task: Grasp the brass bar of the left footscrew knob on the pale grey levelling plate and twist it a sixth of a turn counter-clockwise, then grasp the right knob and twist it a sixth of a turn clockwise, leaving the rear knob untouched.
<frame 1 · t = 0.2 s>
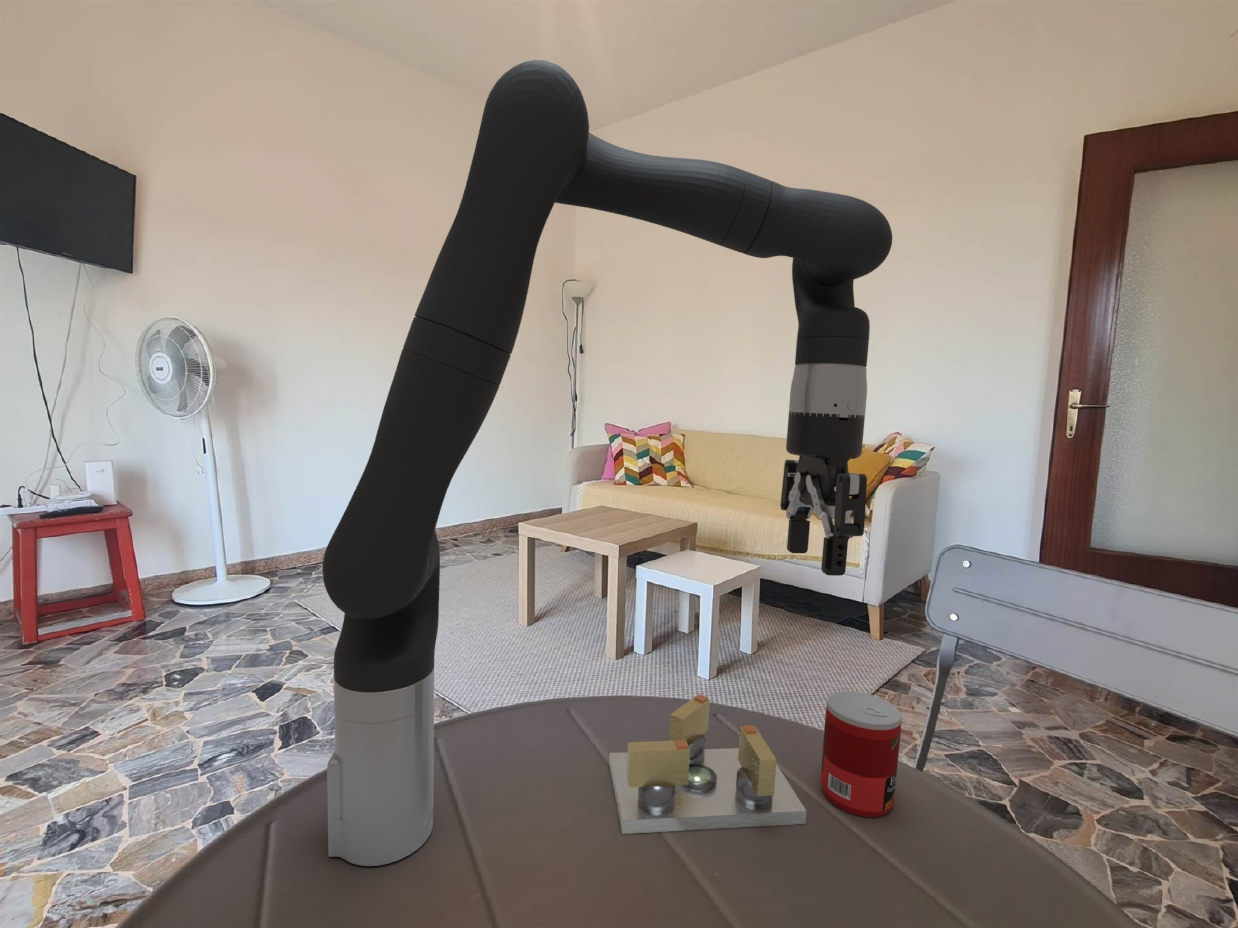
hand: (813, 562, 64), 28 cm above the table, fingers open, 8 cm apart
level plate: (700, 792, 69), on the table
knob c: (689, 731, 73), point 5 cm above the table, hinge at 0.0°
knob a: (657, 773, 65), point 5 cm above the table, hinge at 0.0°
knob b: (755, 769, 66), point 5 cm above the table, hinge at 0.0°
canned food: (855, 797, 70), on the table
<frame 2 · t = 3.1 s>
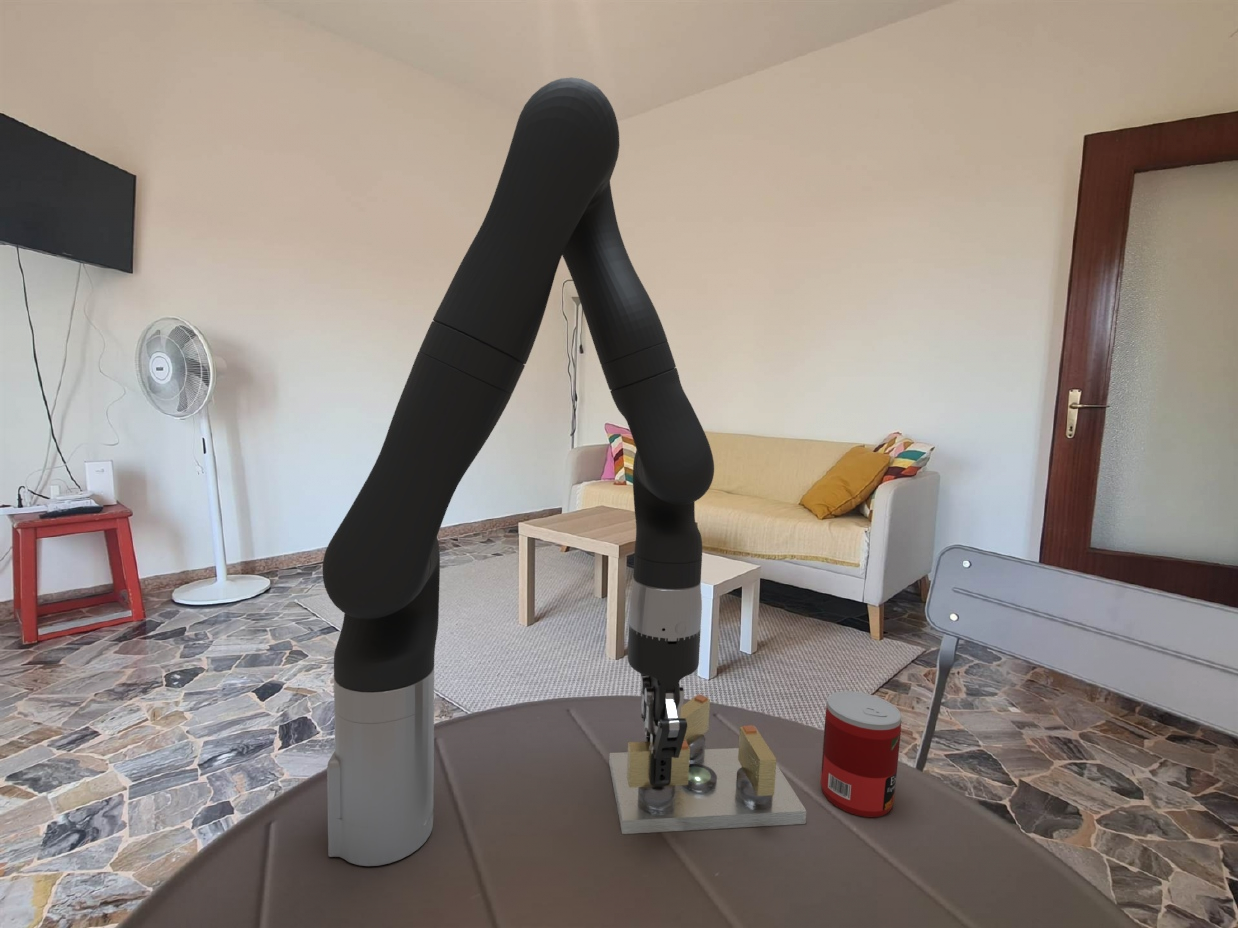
hand: (657, 776, 65), 5 cm above the table, fingers closed on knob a, 2 cm apart
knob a: (657, 773, 65), point 5 cm above the table, hinge at 0.0°, touching gripper
everything else where it was.
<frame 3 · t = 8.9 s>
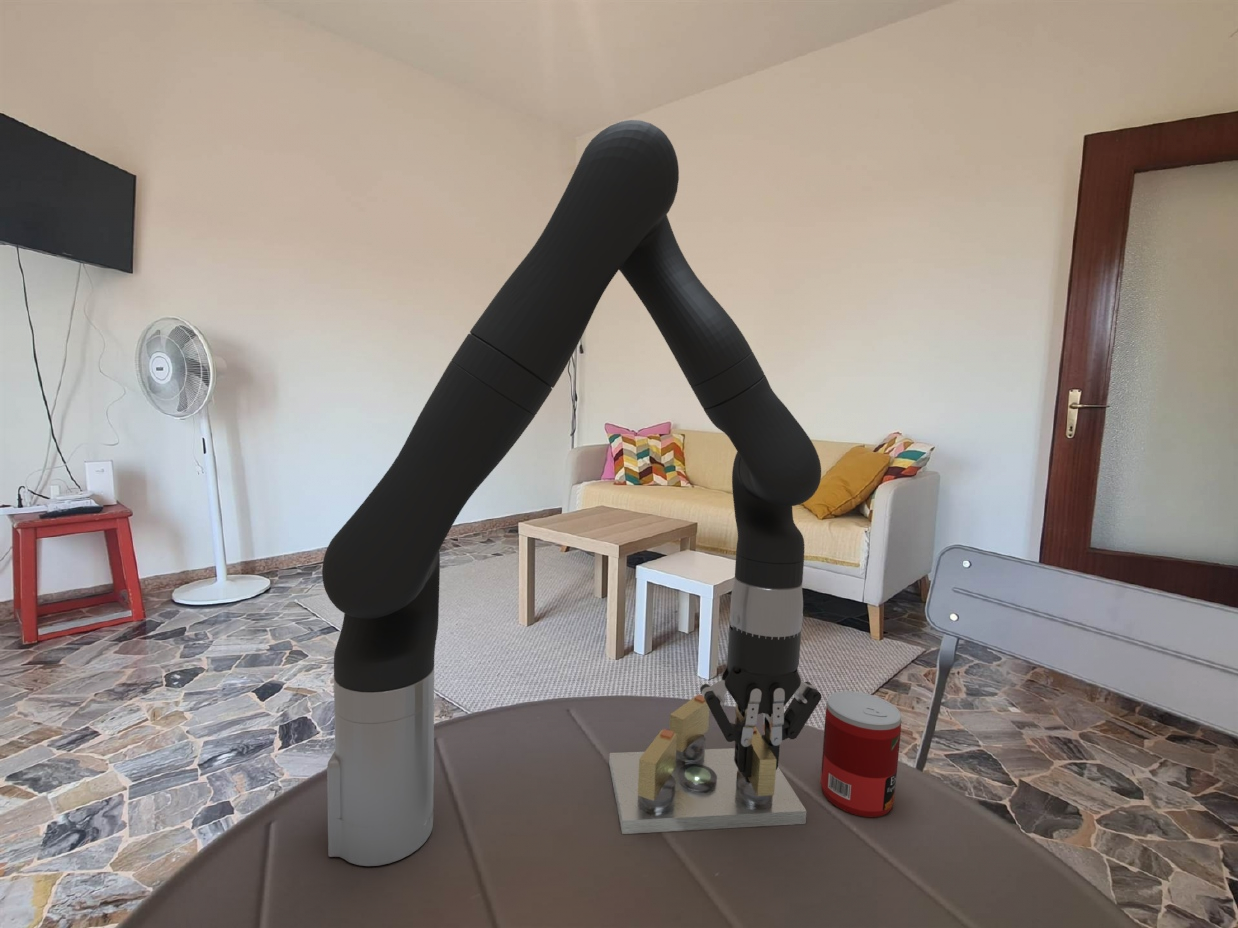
hand: (755, 771, 66), 5 cm above the table, fingers closed on knob b, 2 cm apart
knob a: (657, 773, 65), point 5 cm above the table, hinge at 57.4°
knob b: (755, 769, 66), point 5 cm above the table, hinge at 0.0°, touching gripper
everything else where it was.
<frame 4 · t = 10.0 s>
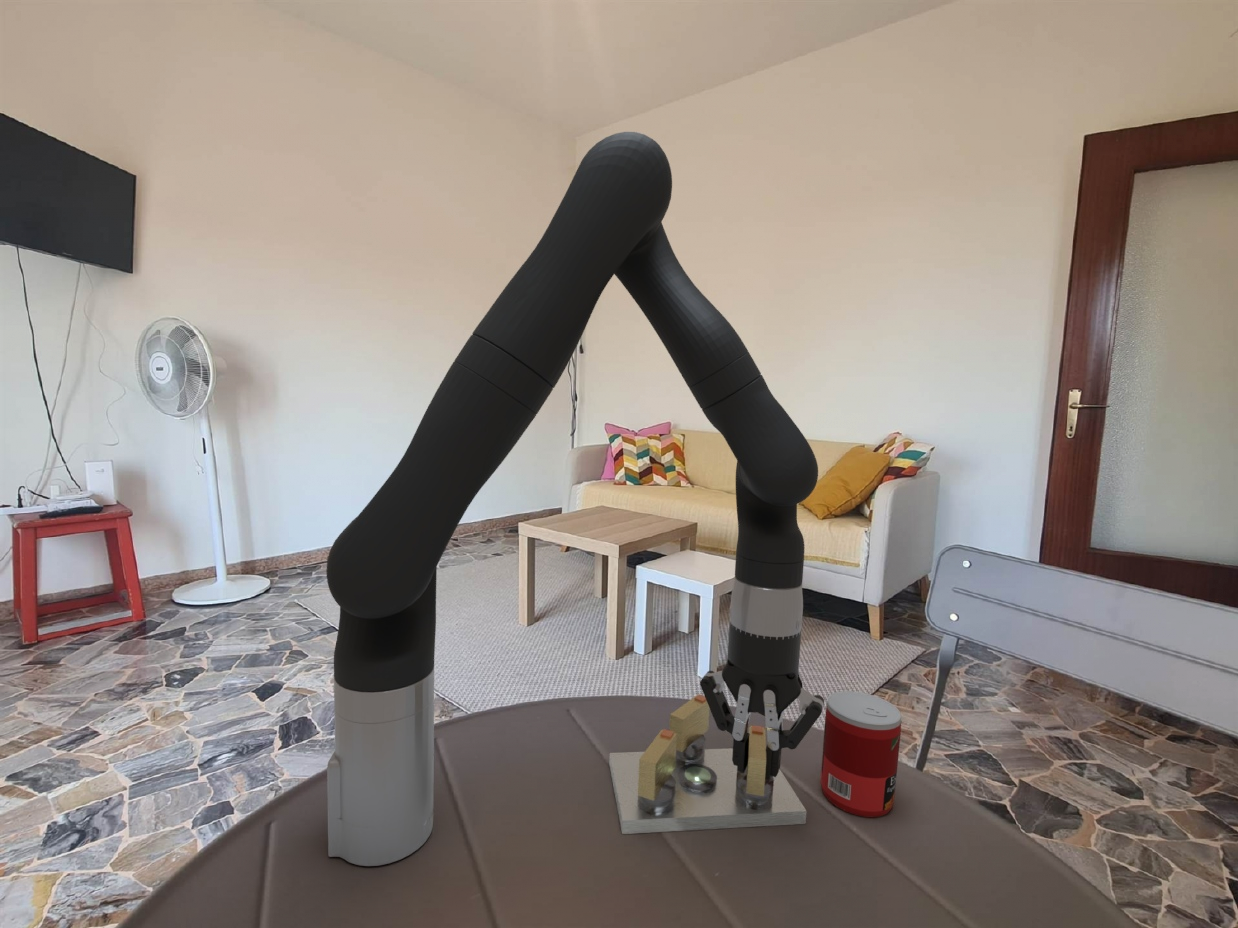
hand: (755, 771, 66), 5 cm above the table, fingers closed on knob b, 2 cm apart
knob b: (755, 769, 66), point 5 cm above the table, hinge at -20.3°, touching gripper
everything else where it was.
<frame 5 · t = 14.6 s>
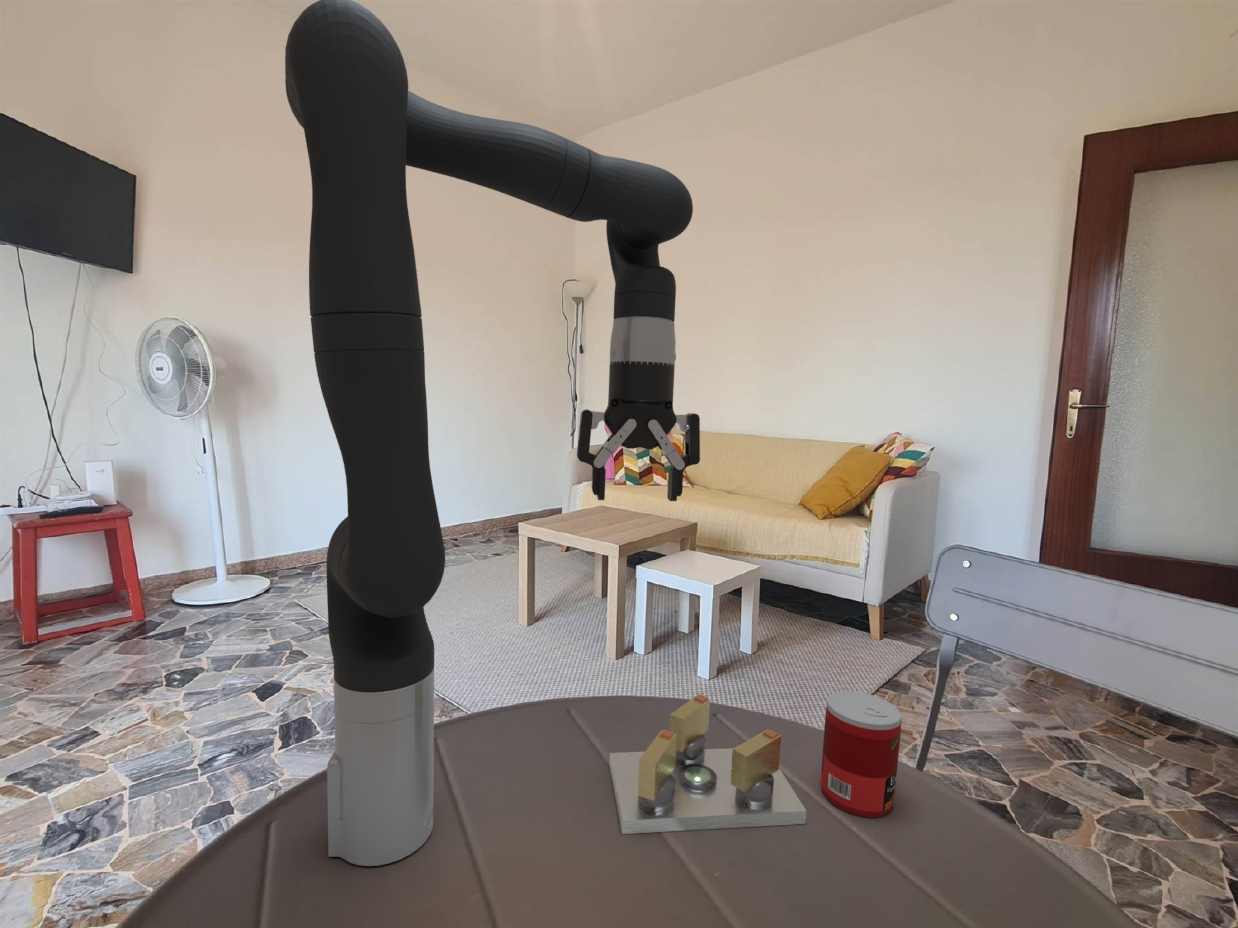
hand: (636, 499, 71), 33 cm above the table, fingers open, 8 cm apart
knob b: (755, 769, 66), point 5 cm above the table, hinge at -55.8°
everything else where it was.
at the end: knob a at +58° (first picture: +0°); knob b at -56° (first picture: +0°) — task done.
